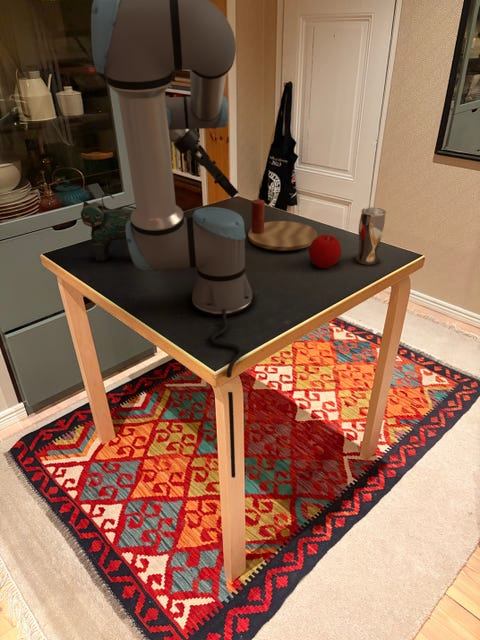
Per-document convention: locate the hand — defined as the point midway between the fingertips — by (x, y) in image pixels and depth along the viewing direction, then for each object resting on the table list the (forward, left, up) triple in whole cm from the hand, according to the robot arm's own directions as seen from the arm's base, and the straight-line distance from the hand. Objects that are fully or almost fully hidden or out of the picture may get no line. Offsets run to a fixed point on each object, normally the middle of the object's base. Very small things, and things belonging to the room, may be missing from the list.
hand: (230, 189), depth 141 cm
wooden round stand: (-5, -16, -16) cm, 23 cm away
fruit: (-26, -20, -17) cm, 37 cm away
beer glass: (-28, -33, -17) cm, 46 cm away
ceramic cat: (-1, +34, -17) cm, 39 cm away
